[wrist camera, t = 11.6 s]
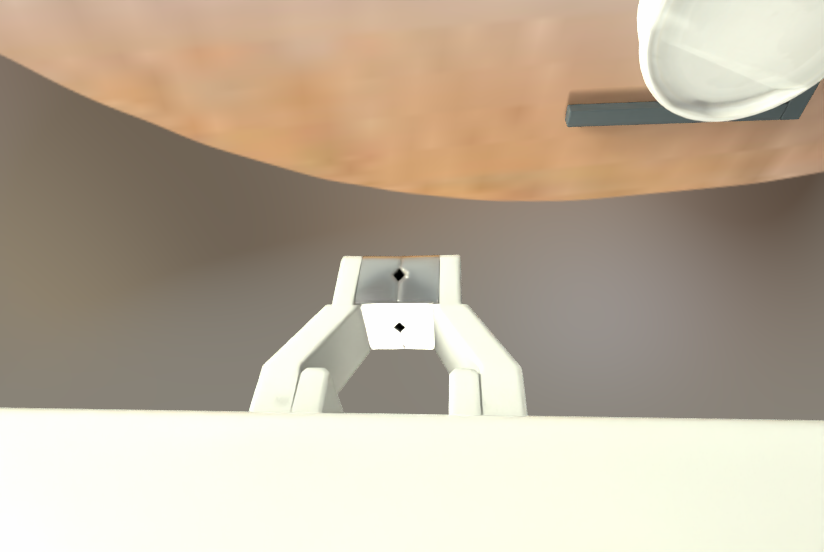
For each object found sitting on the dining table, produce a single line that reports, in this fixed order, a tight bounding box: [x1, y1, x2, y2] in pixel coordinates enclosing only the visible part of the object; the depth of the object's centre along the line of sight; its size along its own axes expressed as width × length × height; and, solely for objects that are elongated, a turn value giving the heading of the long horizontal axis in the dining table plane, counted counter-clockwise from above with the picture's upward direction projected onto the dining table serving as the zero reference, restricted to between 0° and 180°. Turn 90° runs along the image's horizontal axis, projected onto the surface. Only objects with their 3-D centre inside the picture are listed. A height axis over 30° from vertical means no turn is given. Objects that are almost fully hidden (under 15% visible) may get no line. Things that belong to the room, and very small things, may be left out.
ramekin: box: [637, 0, 824, 122], centre depth 26 cm, size 11×11×5 cm
